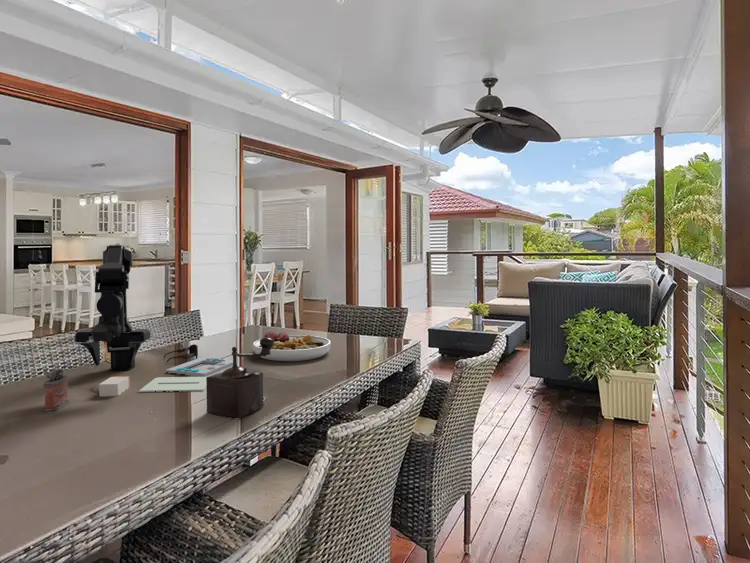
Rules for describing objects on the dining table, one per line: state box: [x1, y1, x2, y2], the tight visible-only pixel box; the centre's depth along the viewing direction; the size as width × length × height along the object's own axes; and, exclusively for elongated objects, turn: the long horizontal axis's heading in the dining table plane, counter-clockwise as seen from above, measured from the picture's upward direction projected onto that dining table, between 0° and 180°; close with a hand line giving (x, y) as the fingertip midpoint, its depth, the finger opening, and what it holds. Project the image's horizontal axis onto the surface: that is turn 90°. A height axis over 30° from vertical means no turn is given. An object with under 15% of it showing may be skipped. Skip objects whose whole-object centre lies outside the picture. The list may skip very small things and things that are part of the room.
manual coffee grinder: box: [206, 336, 274, 419], centre depth 127 cm, size 16×11×18 cm
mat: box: [138, 376, 208, 393], centre depth 147 cm, size 18×14×1 cm
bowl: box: [252, 331, 331, 362], centre depth 191 cm, size 30×30×8 cm
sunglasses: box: [163, 344, 199, 363], centre depth 180 cm, size 10×12×5 cm
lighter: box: [42, 368, 70, 414], centre depth 126 cm, size 8×3×10 cm, turn 5°
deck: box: [98, 375, 131, 397], centre depth 140 cm, size 5×8×4 cm, turn 5°
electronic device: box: [165, 357, 233, 377], centre depth 167 cm, size 18×2×15 cm
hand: (114, 365), depth 139 cm, fingers open, 9 cm apart
